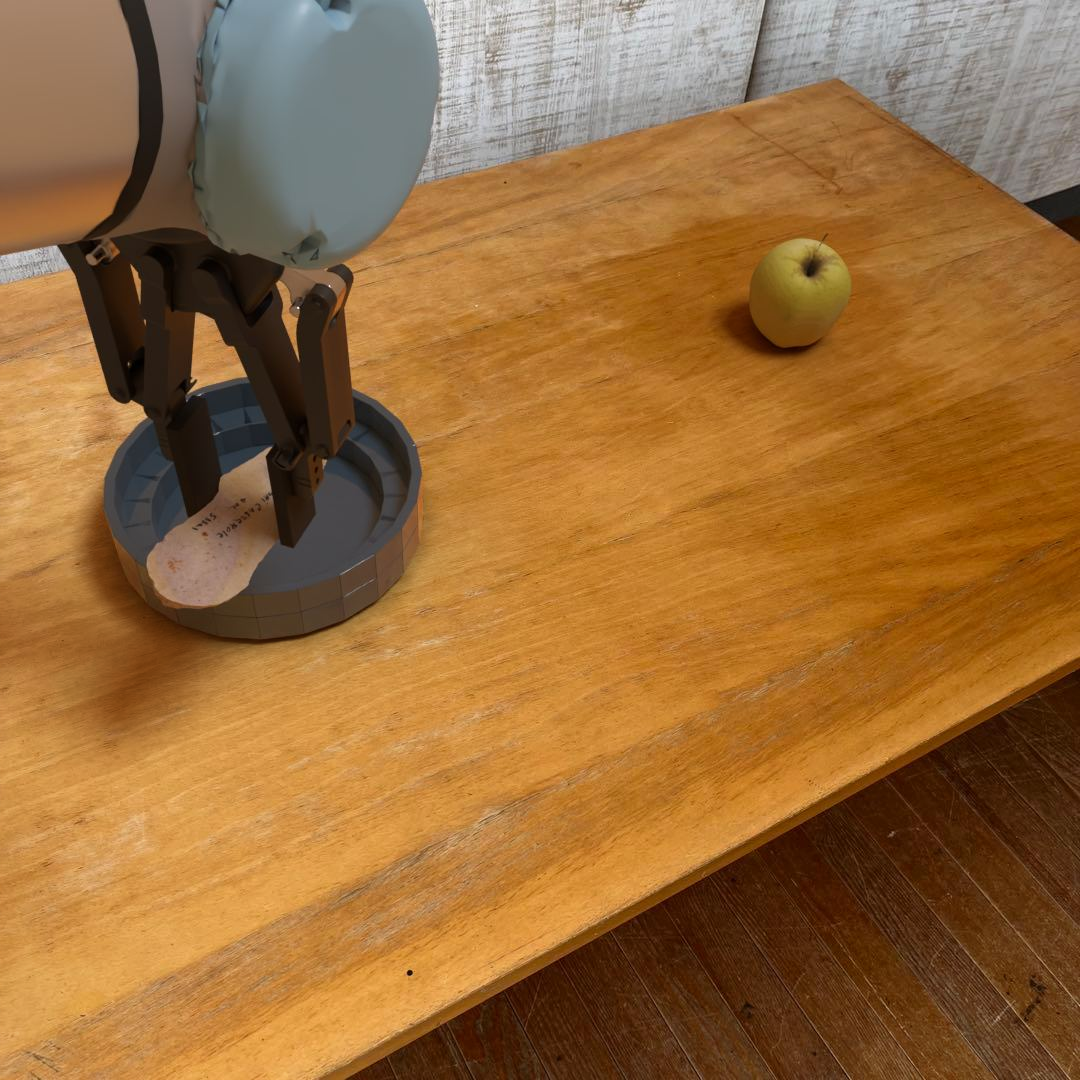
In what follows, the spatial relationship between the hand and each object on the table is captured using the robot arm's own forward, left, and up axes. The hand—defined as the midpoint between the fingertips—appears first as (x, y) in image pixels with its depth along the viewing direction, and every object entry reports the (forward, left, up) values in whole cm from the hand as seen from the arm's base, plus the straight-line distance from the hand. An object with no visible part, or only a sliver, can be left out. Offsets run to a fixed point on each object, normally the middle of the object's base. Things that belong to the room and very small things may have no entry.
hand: (252, 514), depth 63 cm
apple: (+45, -25, -13) cm, 53 cm away
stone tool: (0, 0, -1) cm, 1 cm away
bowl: (+10, +5, -13) cm, 18 cm away
